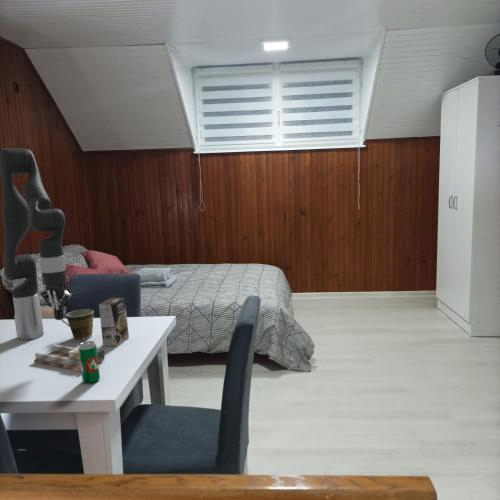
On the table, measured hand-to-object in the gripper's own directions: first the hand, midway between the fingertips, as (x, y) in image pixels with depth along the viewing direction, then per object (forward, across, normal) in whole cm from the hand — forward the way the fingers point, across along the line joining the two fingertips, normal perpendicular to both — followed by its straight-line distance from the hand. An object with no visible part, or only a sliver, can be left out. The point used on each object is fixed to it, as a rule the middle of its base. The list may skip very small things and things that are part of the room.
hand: (59, 319), depth 152 cm
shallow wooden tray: (+15, +2, 0) cm, 15 cm away
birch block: (+13, +9, 0) cm, 16 cm away
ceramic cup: (+15, -13, +19) cm, 27 cm away
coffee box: (+15, +5, +20) cm, 25 cm away
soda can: (+14, +21, -9) cm, 27 cm away
